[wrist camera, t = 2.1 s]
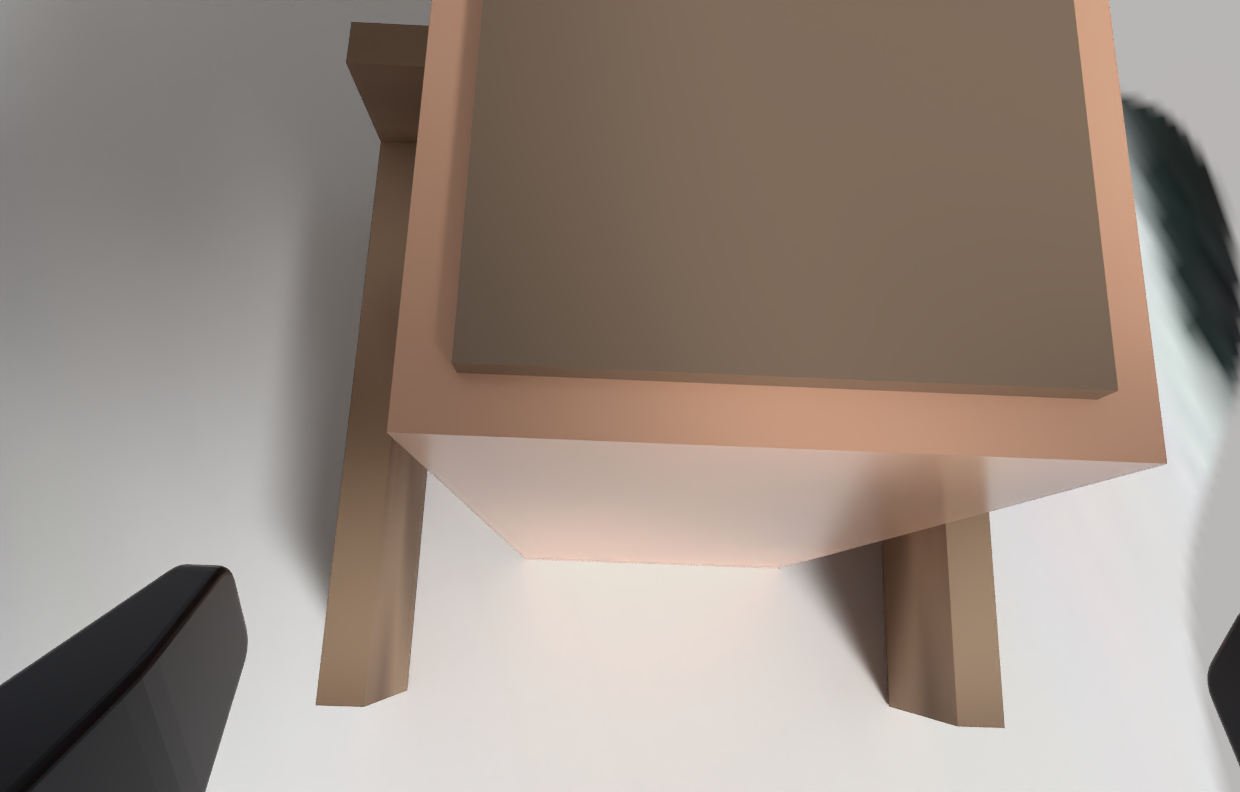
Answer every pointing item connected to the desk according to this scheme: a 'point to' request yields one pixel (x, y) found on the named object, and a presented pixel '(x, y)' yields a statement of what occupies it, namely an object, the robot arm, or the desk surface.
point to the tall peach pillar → (769, 272)
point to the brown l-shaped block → (395, 481)
